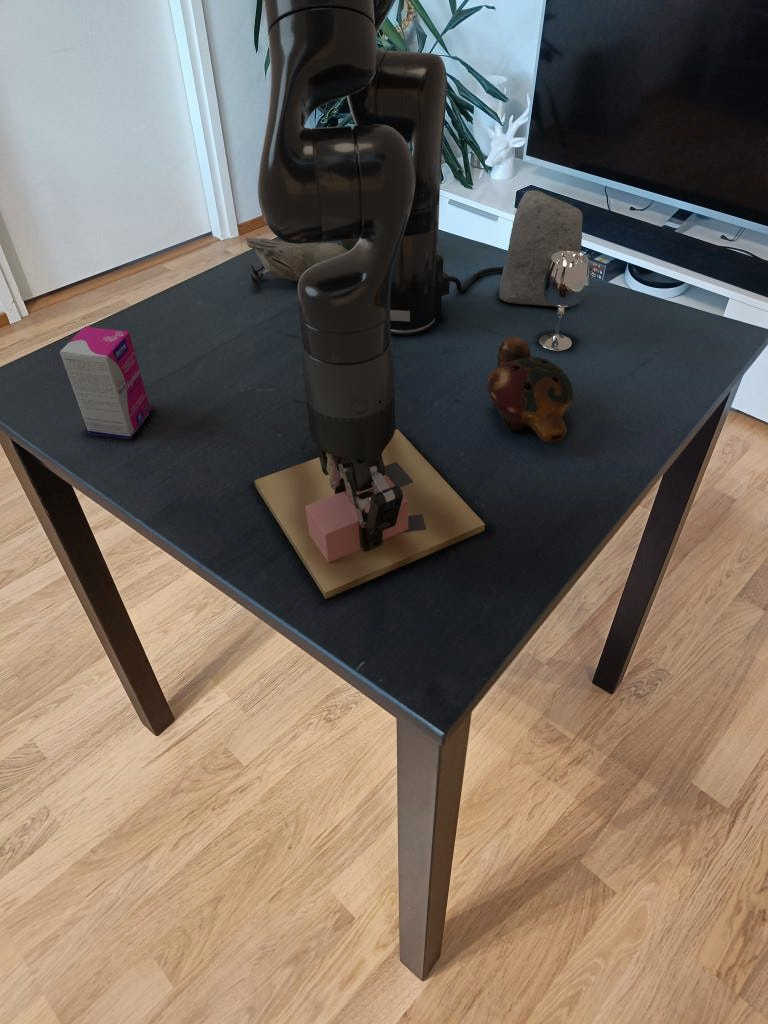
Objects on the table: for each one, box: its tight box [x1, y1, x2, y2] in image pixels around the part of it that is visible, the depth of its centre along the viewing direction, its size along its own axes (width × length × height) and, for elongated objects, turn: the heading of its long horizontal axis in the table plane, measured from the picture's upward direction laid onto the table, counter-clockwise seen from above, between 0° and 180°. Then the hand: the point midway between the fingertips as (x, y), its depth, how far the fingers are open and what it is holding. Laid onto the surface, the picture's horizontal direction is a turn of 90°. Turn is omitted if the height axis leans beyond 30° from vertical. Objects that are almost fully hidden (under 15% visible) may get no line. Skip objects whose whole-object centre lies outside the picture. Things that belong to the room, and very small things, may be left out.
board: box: [253, 428, 486, 600], centre depth 75 cm, size 18×18×1 cm
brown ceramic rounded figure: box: [487, 336, 574, 444], centre depth 83 cm, size 10×15×8 cm, turn 21°
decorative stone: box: [498, 189, 584, 308], centre depth 101 cm, size 11×6×15 cm, turn 71°
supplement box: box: [59, 326, 152, 440], centre depth 83 cm, size 6×6×12 cm
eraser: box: [305, 475, 408, 563], centre depth 70 cm, size 9×4×4 cm, turn 119°
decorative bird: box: [244, 237, 348, 290], centre depth 109 cm, size 5×16×8 cm, turn 95°
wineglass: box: [538, 251, 590, 352], centre depth 94 cm, size 6×6×12 cm
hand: (359, 529), depth 71 cm, fingers closed on eraser, 4 cm apart
